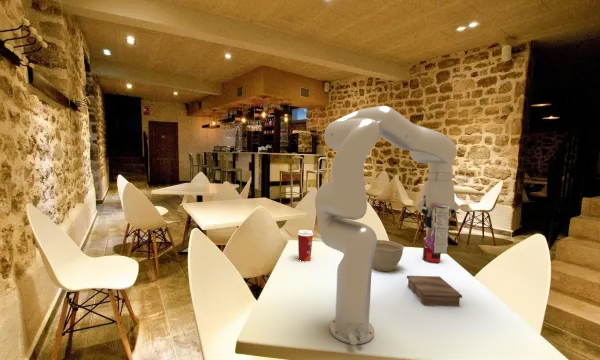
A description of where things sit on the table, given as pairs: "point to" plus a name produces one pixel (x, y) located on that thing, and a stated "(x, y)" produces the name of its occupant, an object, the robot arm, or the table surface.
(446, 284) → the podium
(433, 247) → the candy bar box
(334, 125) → the robot arm
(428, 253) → the canned food
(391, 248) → the planter bowl
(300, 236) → the paper cup
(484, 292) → the table surface
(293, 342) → the table surface
